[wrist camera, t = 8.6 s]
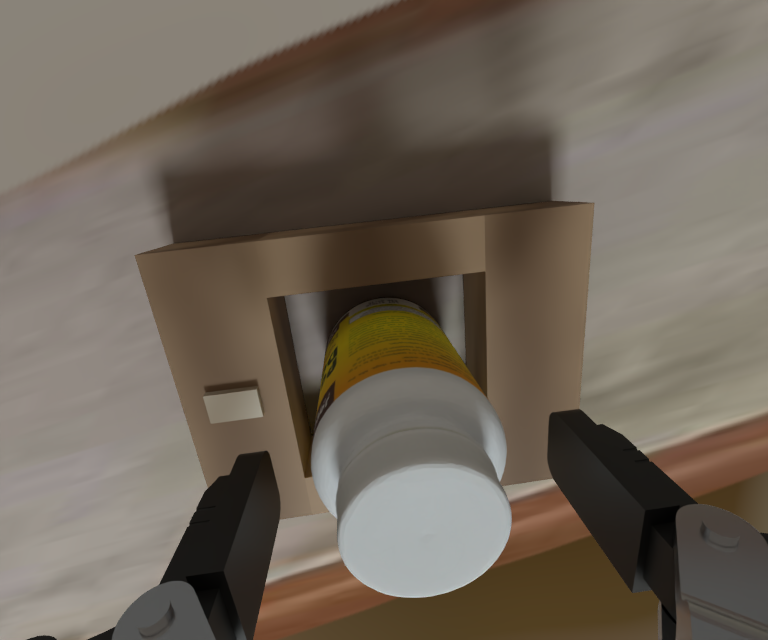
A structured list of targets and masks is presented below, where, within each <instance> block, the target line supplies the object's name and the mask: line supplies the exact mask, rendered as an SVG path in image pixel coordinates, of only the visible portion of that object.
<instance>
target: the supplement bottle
mask: <svg viewBox="0 0 768 640" xmlns="http://www.w3.org/2000/svg"><path fill="white" fill-rule="evenodd" d="M506 455H507V445H506V438H505V432H504V429H503V426H502V423H501V421H500V419H499V417H498V415H497V413H496V411H495V409H494V408H493V406H492V404H491V403H490V401H489V400H488V398H487V397H486V395H485V394H484V392H483V391H482V389H481V388H480V386H479V385H478V383H477V382H476V380H475V379H474V377H473V376H472V374H471V373H470V371H469V370H468V368H467V367H466V365H465V364H464V362H463V361H462V359H461V357H460V356H459V355H458V353H457V351H456V350H455V348H454V347H453V346H452V344H451V343H450V341H449V340H448V338H447V337H446V335H445V333H444V332H443V330H442V329H441V327H440V326H439V324H438V323H437V322H436V320H435V319H434V318H433V317H432V316H431V315H430V314H429V313H428V312H427V311H426V310H424V309H423V308H422V307H420V306H418V305H416V304H414V303H412V302H410V301H407V300H403V299H398V298H378V299H373V300H370V301H367V302H364V303H362V304H359V305H357V306H356V307H354V308H352V309H351V310H350V311H348V312H347V313H346V314H345V315H344V316H343V317H342V318H341V319H340V320H339V321H338V322H337V324H336V325H335V327H334V328H333V330H332V332H331V334H330V337H329V339H328V343H327V347H326V352H325V358H324V366H323V372H322V380H321V387H320V394H319V401H318V407H317V414H316V421H315V428H314V435H313V441H312V452H311V471H312V477H313V481H314V485H315V488H316V490H317V492H318V495H319V497H320V499H321V500H322V502H323V503H324V505H325V506H326V508H327V509H328V510H329V511H330V513H331V514H332V515H333V516H334V517H336V518H337V541H338V547H339V551H340V554H341V557H342V559H343V561H344V563H345V565H346V567H347V568H348V569H349V571H350V572H351V573H352V574H353V575H354V576H355V577H356V578H357V579H358V580H360V581H361V582H362V583H363V584H365V585H367V586H368V587H370V588H373V589H375V590H376V591H378V592H381V593H384V594H387V595H392V596H398V597H413V598H418V597H429V596H434V595H439V594H443V593H447V592H450V591H453V590H455V589H457V588H460V587H462V586H465V585H466V584H468V583H470V582H472V581H473V580H475V579H476V578H477V577H479V576H480V575H482V574H483V573H484V572H485V571H486V570H487V569H488V568H489V567H490V566H491V565H492V564H493V563H494V562H495V561H496V560H497V559H498V557H499V555H500V554H501V552H502V551H503V549H504V547H505V545H506V543H507V541H508V538H509V534H510V530H511V521H512V517H511V508H510V504H509V501H508V498H507V495H506V493H505V491H504V489H503V487H502V485H501V483H500V481H501V478H502V475H503V472H504V468H505V464H506Z"/></svg>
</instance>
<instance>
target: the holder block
mask: <svg viewBox="0 0 768 640" xmlns="http://www.w3.org/2000/svg"><path fill="white" fill-rule="evenodd" d="M593 215H594V203H587V202H565V201H547V202H538V203H529V204H520V205H511V206H502V207H494V208H485V209H476V210H467V211H458V212H449V213H440V214H432V215H423V216H414V217H405V218H396V219H387V220H378V221H370V222H361V223H352V224H343V225H334V226H325V227H316V228H308V229H299V230H290V231H281V232H272V233H263V234H254V235H246V236H237V237H228V238H219V239H210V240H201V241H192V242H183V243H175V244H170V245H167V246H164V247H160V248H157V249H154V250H150V251H147V252H144V253H140V254H137V255H135V258H136V261H137V264H138V268H139V271H140V274H141V277H142V280H143V283H144V287H145V290H146V293H147V296H148V299H149V302H150V306H151V309H152V312H153V315H154V318H155V321H156V325H157V328H158V331H159V334H160V337H161V340H162V344H163V347H164V350H165V353H166V356H167V360H168V363H169V366H170V369H171V372H172V375H173V379H174V382H175V385H176V388H177V391H178V394H179V398H180V401H181V404H182V407H183V410H184V413H185V417H186V420H187V423H188V426H189V429H190V432H191V436H192V439H193V442H194V445H195V448H196V451H197V455H198V458H199V461H200V464H201V467H202V470H203V474H204V477H205V480H206V483H207V486H208V488H209V487H210V486H211V485H212V484H213V483H214V482H215V480H216V479H217V478H218V477H219V476H225V475H230V472H231V470H232V468H233V465H234V463H235V461H236V458H237V456H238V455H239V454H245V453H252V452H259V451H268V452H269V454H270V457H271V461H272V465H273V469H274V473H275V477H276V481H277V485H278V490H279V494H280V502H281V511H280V519H286V518H293V517H299V516H306V515H313V514H319V513H326V512H330V511H329V510H328V509H327V508H326V506H325V505H324V503H323V502H322V500H321V499H320V497H319V495H318V492H317V490H316V488H315V485H314V481H313V477H312V471H311V452H312V441H313V435H312V436H311V432H310V427H309V422H308V417H307V412H306V407H305V402H304V397H303V391H302V386H301V381H300V376H299V371H298V366H297V361H296V356H295V350H294V345H293V340H292V335H291V330H290V325H289V320H288V314H287V309H286V304H285V299H284V296H286V295H294V294H302V293H311V292H319V291H327V290H335V289H344V288H352V287H360V286H368V285H377V284H385V283H393V282H401V281H410V280H418V279H426V278H434V277H443V276H451V275H459V274H463V285H464V313H465V341H466V367H467V368H468V370H469V371H470V373H471V374H472V376H473V377H474V379H475V380H476V382H477V383H478V385H479V386H480V388H481V389H482V391H483V392H484V394H485V395H486V397H487V398H488V400H489V401H490V403H491V404H492V406H493V408H494V409H495V411H496V413H497V415H498V417H499V419H500V421H501V423H502V426H503V429H504V432H505V438H506V445H507V455H506V464H505V468H504V472H503V475H502V478H501V481H500V483H501V485H502V486H506V485H512V484H519V483H526V482H532V481H539V480H546V479H552V478H553V477H552V475H551V473H550V470H549V466H548V461H547V448H548V425H549V416H550V414H551V413H552V412H559V411H566V410H573V409H579V405H580V391H581V378H582V364H583V350H584V337H585V323H586V310H587V296H588V283H589V269H590V255H591V242H592V228H593Z"/></svg>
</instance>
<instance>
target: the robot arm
mask: <svg viewBox="0 0 768 640" xmlns="http://www.w3.org/2000/svg"><path fill="white" fill-rule="evenodd" d="M547 461H548V466H549V470H550V473H551V475H552V477H553V479H554V481H555V482H556V484H557V485H558V486H559V488H560V489H561V491H562V492H563V494H564V495H565V497H566V498H567V499H568V501H569V502H570V504H571V505H572V507H573V508H574V510H575V511H576V512H577V514H578V515H579V517H580V518H581V520H582V521H583V523H584V524H585V525H586V527H587V528H588V530H589V531H590V533H591V534H592V536H593V537H594V538H595V540H596V541H597V543H598V544H599V546H600V547H601V549H602V550H603V551H604V553H605V554H606V556H607V557H608V559H609V560H610V562H611V563H612V564H613V566H614V567H615V569H616V570H617V572H618V573H619V575H620V576H621V577H622V579H623V580H624V582H625V583H626V585H627V586H628V588H629V589H630V590H631V592H632V593H635V592H642V591H648V590H652V591H653V592H654V593H655V594H656V596H657V597H658V599H659V600H660V602H659V606H658V639H659V640H768V534H766V533H759V532H758V531H757V530H756V529H755V528H754V527H753V526H752V525H750V524H749V523H748V522H746V521H745V520H743V519H742V518H740V517H738V516H736V515H734V514H733V513H731V512H728V511H726V510H723V509H720V508H717V507H714V506H709V505H703V504H698V503H697V502H696V501H694V500H693V499H692V498H691V497H690V496H689V495H688V494H687V493H686V492H685V491H684V490H683V489H681V488H680V487H679V486H678V485H677V484H676V483H675V482H674V481H673V480H672V479H670V478H669V477H668V476H667V475H666V474H665V473H664V472H663V471H662V470H661V469H659V468H658V467H657V466H656V465H655V464H654V463H653V462H650V461H649V459H648V458H647V457H646V456H645V455H644V454H643V453H642V452H641V451H640V450H637V448H636V447H635V446H634V445H633V444H632V443H631V442H630V441H629V440H628V439H627V438H625V437H624V436H623V435H622V434H620V433H618V432H616V431H615V430H613V429H611V428H609V427H607V426H605V425H603V424H600V425H596V424H595V423H594V422H593V421H592V420H591V419H590V418H589V417H588V416H587V415H586V414H585V413H584V412H583V411H582V410H580V409H573V410H566V411H559V412H552V413H551V414H550V416H549V425H548V448H547ZM280 511H281V502H280V494H279V490H278V485H277V481H276V477H275V473H274V469H273V465H272V461H271V457H270V454H269V452H268V451H259V452H252V453H245V454H239V455H238V456H237V458H236V461H235V463H234V465H233V468H232V470H231V472H230V475H225V476H219V477H218V478H217V479H216V480H215V482H214V483H213V484H212V485H211V486H210V487H209V488H208V489H207V490H206V491H205V492H204V494H203V496H202V498H201V500H200V502H199V504H198V506H197V511H196V512H195V513H194V515H193V517H192V519H191V521H190V523H189V524H190V525H189V527H187V529H186V531H185V533H184V535H183V537H182V539H181V541H180V543H179V545H178V547H177V549H176V551H175V553H174V556H173V558H172V560H171V562H170V564H169V566H168V568H167V570H166V572H165V574H164V576H163V578H162V580H161V582H160V584H159V585H158V586H156V587H154V588H152V589H151V590H149V591H147V592H146V593H144V594H143V595H142V596H140V597H139V598H138V599H137V600H136V601H134V602H133V603H132V605H131V606H130V607H129V608H128V609H127V610H126V611H125V612H124V614H123V615H122V617H121V618H120V620H119V621H118V623H117V625H116V627H114V628H112V629H110V630H108V631H106V632H103V633H101V634H99V635H97V636H94V637H92V638H90V639H88V640H253V636H254V632H255V627H256V623H257V618H258V614H259V609H260V605H261V600H262V596H263V591H264V587H265V582H266V578H267V573H268V569H269V564H270V560H271V555H272V551H273V546H274V542H275V537H276V533H277V528H278V524H279V519H280ZM27 640H57V639H55V638H54V637H52V636H45V635H44V636H37V637H33V638H30V639H27Z"/></svg>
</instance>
